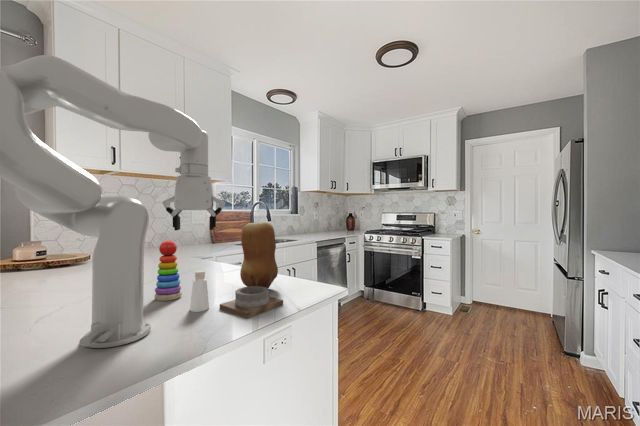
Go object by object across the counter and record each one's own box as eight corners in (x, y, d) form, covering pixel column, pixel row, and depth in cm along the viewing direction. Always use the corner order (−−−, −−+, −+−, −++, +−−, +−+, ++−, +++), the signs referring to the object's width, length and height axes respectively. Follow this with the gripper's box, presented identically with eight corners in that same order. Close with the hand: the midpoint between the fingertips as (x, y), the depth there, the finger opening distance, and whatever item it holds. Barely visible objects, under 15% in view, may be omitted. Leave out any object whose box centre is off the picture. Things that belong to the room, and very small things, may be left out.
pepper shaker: (203, 304, 87) (203, 268, 87) (213, 308, 84) (213, 271, 84) (185, 309, 83) (186, 271, 83) (195, 313, 80) (195, 274, 80)
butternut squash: (239, 287, 108) (240, 221, 108) (275, 285, 112) (275, 221, 112) (240, 298, 94) (241, 222, 94) (281, 294, 98) (281, 222, 98)
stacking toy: (186, 295, 97) (187, 240, 97) (172, 302, 89) (172, 242, 89) (164, 294, 98) (165, 239, 98) (148, 301, 90) (149, 241, 90)
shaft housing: (247, 318, 76) (247, 299, 76) (219, 309, 83) (219, 292, 83) (282, 304, 88) (283, 288, 88) (256, 297, 95) (256, 282, 95)
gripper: (158, 169, 79) (158, 231, 79) (223, 171, 82) (223, 230, 83) (167, 172, 87) (167, 229, 87) (226, 174, 90) (226, 228, 90)
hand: (194, 229), depth 85 cm, fingers open, 9 cm apart
